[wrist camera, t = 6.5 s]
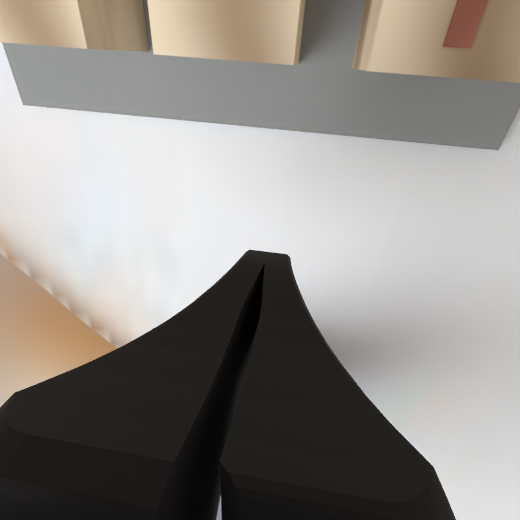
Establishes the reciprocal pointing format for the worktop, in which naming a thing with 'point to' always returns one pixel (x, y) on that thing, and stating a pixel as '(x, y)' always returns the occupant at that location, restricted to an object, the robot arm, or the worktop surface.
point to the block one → (441, 38)
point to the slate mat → (273, 88)
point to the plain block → (228, 29)
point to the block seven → (75, 24)
